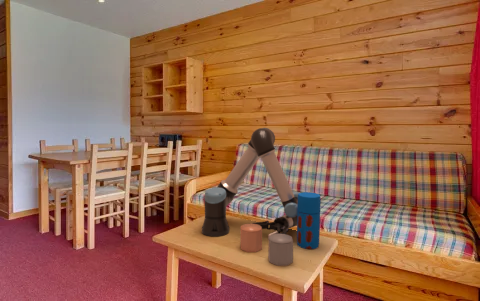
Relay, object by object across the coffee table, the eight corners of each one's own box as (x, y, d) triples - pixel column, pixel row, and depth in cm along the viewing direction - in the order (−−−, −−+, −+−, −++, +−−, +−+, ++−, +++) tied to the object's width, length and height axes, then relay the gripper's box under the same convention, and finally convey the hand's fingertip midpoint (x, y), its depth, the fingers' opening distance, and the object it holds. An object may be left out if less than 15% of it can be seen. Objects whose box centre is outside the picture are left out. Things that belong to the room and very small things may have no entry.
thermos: (320, 250, 138) (321, 198, 135) (296, 248, 139) (298, 197, 137) (317, 241, 148) (319, 192, 146) (296, 239, 150) (297, 191, 148)
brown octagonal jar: (264, 260, 127) (264, 237, 126) (277, 253, 134) (278, 231, 134) (283, 268, 120) (283, 244, 119) (296, 260, 127) (297, 237, 127)
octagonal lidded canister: (236, 247, 140) (236, 227, 139) (250, 241, 148) (250, 222, 147) (251, 253, 133) (252, 232, 133) (265, 247, 141) (266, 227, 140)
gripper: (303, 236, 149) (278, 249, 134) (264, 224, 166) (239, 234, 151) (303, 221, 149) (278, 233, 133) (264, 211, 166) (239, 220, 150)
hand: (257, 234), depth 142 cm, fingers open, 13 cm apart
